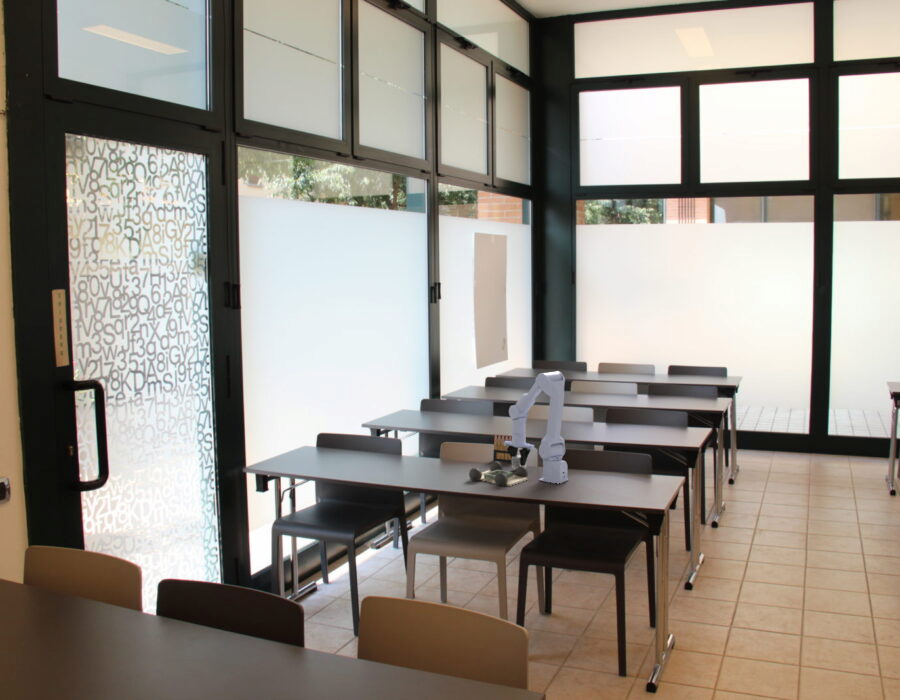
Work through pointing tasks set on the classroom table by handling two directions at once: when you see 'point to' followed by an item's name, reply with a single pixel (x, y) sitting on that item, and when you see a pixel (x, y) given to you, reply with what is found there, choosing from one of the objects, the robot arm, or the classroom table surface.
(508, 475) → the chassis
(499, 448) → the ammunition clip
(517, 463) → the engine block
